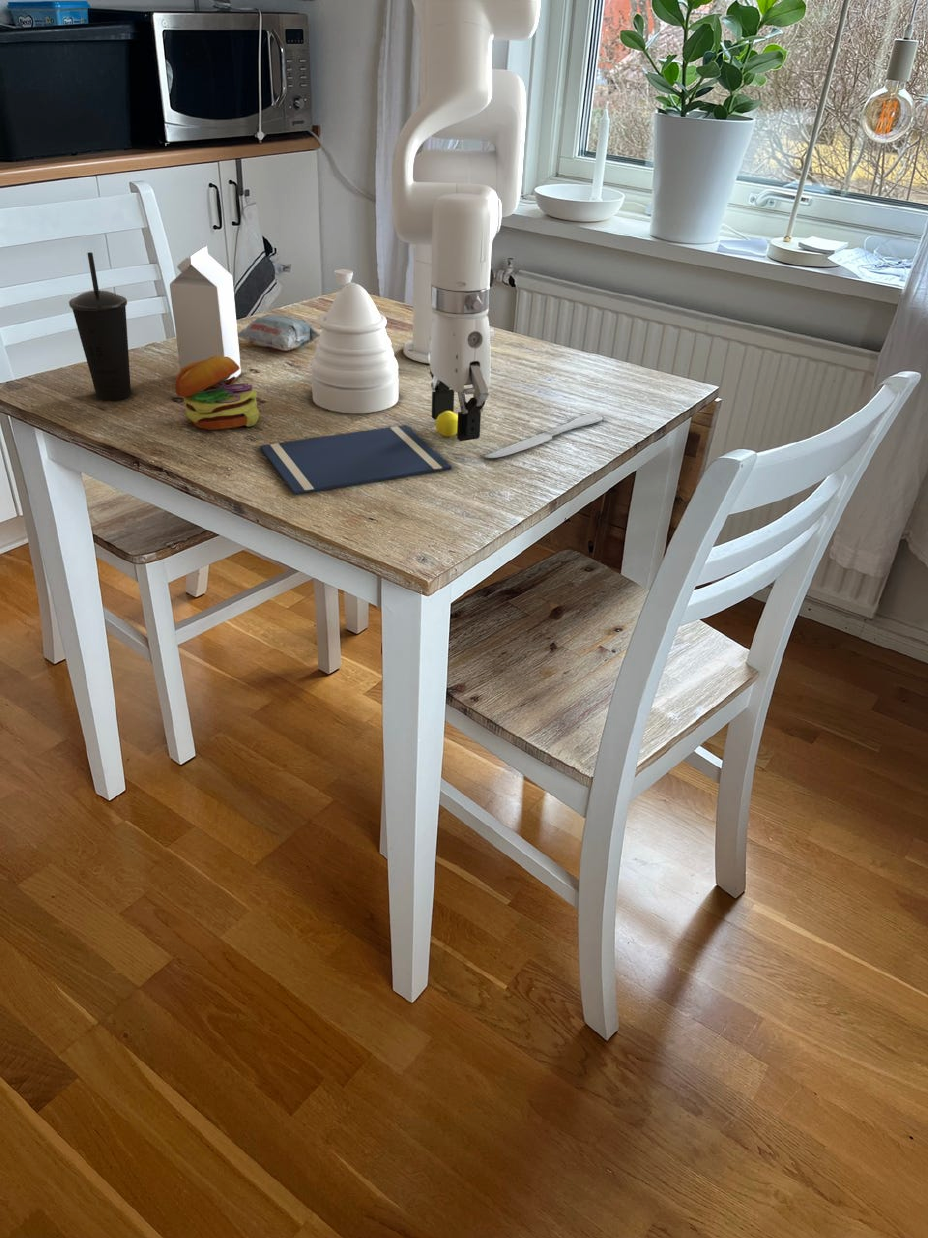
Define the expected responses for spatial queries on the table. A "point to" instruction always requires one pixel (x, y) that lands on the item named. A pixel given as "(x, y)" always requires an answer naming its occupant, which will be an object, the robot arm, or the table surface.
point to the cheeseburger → (216, 395)
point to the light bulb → (447, 423)
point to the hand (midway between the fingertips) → (455, 427)
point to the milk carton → (204, 311)
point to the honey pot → (353, 354)
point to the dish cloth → (352, 459)
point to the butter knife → (546, 435)
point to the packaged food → (279, 332)
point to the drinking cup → (104, 339)
